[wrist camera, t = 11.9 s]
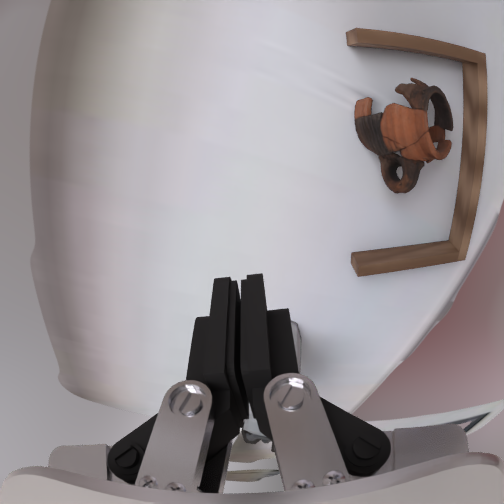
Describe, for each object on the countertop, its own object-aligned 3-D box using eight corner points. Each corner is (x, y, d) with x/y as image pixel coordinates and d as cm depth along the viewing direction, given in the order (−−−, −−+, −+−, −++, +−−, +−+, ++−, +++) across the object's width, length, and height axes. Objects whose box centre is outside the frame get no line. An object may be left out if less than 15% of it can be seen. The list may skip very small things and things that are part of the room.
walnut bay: (345, 32, 23) (356, 28, 20) (469, 53, 22) (485, 53, 20) (350, 262, 37) (357, 276, 34) (454, 248, 36) (464, 259, 34)
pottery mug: (349, 72, 26) (417, 62, 19) (399, 96, 30) (458, 96, 23) (343, 185, 29) (412, 198, 22) (394, 190, 34) (453, 203, 27)
